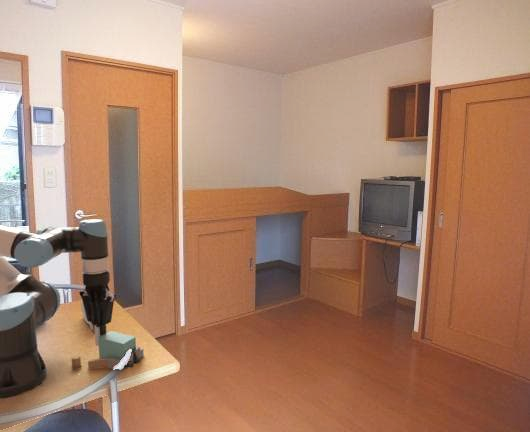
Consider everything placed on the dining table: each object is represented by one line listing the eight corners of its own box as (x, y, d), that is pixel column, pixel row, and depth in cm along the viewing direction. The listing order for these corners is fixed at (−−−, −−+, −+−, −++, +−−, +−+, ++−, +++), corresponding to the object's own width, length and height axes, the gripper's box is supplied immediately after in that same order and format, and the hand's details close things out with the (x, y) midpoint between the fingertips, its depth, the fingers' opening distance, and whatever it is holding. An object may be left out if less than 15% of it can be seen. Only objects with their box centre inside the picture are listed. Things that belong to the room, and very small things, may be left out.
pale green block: (124, 366, 116) (123, 343, 115) (99, 359, 120) (98, 337, 119) (136, 358, 120) (135, 336, 119) (112, 351, 124) (110, 331, 123)
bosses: (130, 368, 114) (129, 355, 114) (125, 366, 115) (124, 354, 115) (142, 360, 119) (141, 348, 118) (137, 359, 120) (136, 346, 119)
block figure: (108, 378, 109) (108, 370, 109) (70, 366, 115) (69, 359, 115) (153, 349, 126) (152, 342, 125) (117, 340, 132) (117, 334, 131)
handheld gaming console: (90, 320, 153) (99, 328, 141) (82, 322, 152) (90, 330, 140) (87, 292, 153) (96, 298, 141) (79, 294, 151) (88, 299, 139)
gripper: (121, 270, 119) (125, 343, 123) (90, 265, 125) (95, 335, 128) (102, 276, 113) (106, 353, 116) (70, 271, 118) (75, 345, 121)
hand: (100, 344), depth 122 cm, fingers closed
